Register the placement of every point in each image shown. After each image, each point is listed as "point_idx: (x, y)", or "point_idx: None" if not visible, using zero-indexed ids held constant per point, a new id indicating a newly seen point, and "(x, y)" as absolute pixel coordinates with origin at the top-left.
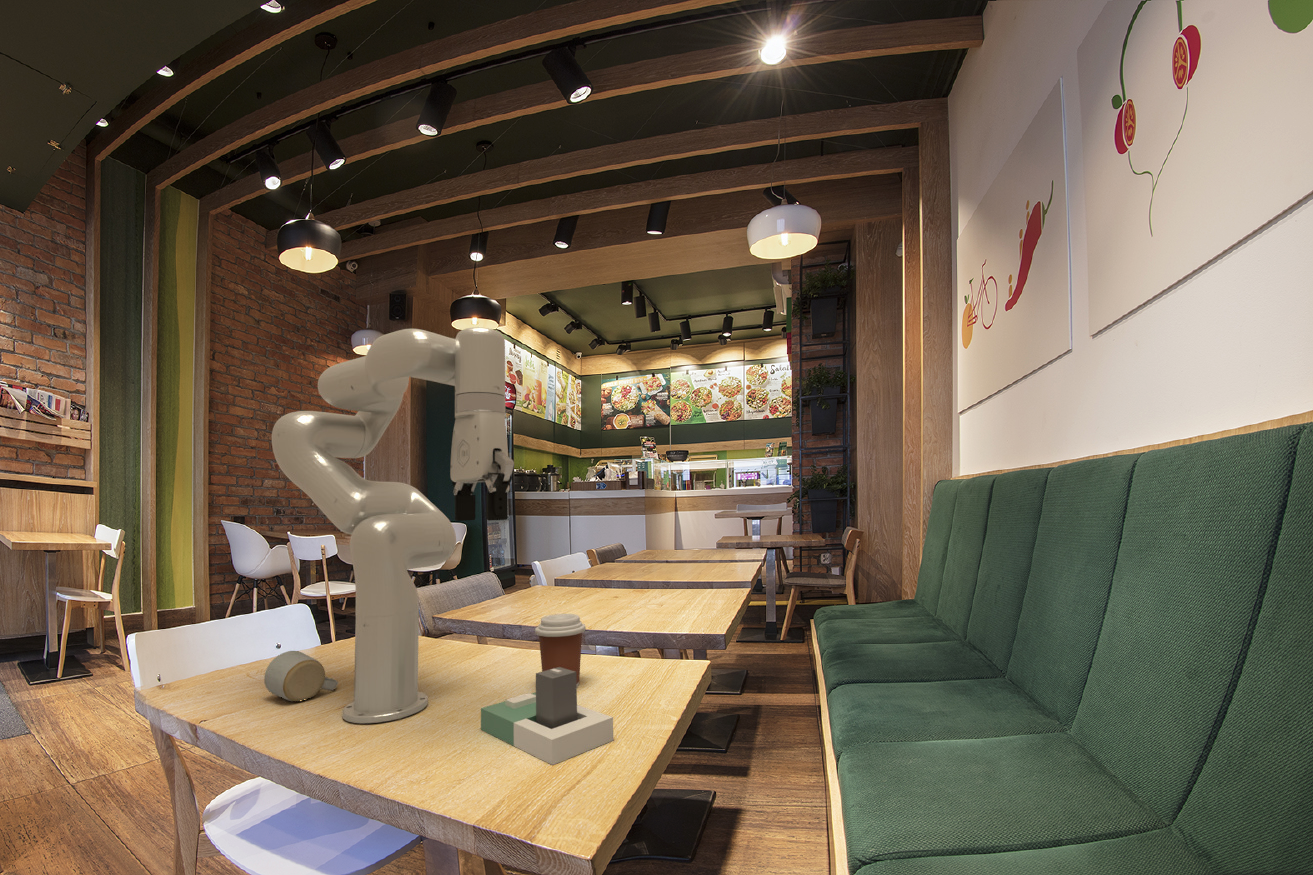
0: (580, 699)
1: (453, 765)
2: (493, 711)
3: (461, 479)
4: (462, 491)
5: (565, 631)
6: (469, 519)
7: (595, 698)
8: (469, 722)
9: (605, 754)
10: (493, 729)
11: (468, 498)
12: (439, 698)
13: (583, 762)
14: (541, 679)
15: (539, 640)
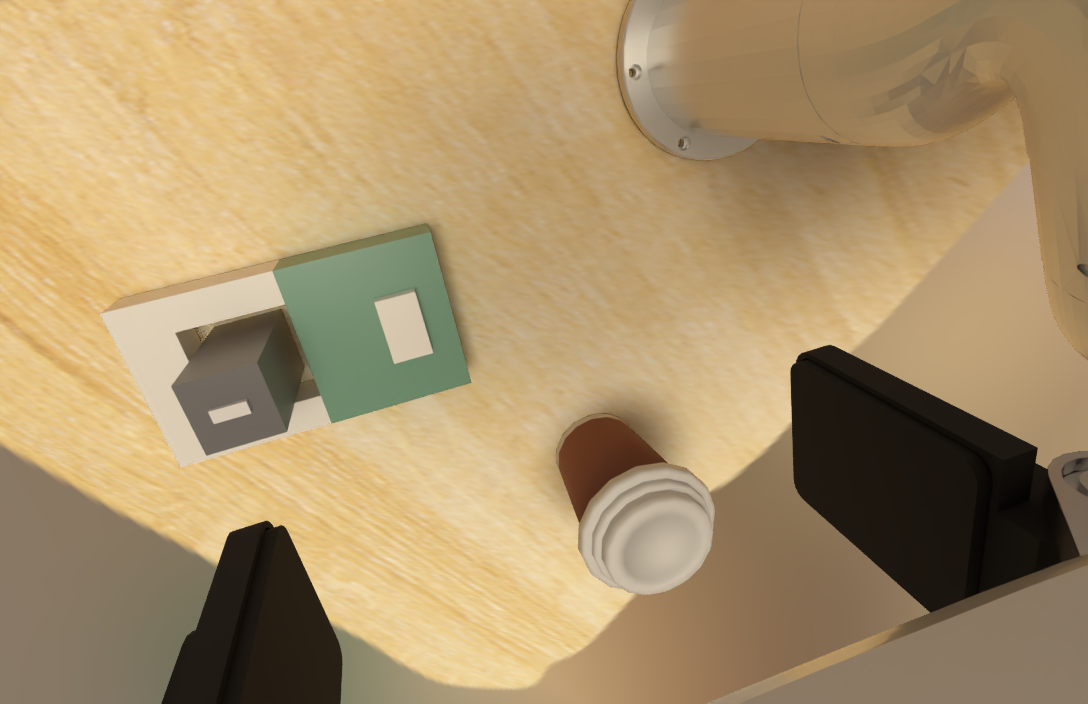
0: (481, 459)
1: (236, 112)
2: (385, 251)
3: (843, 659)
4: (1039, 553)
5: (584, 530)
6: (793, 449)
7: (466, 486)
8: (491, 213)
9: (124, 406)
10: (367, 240)
11: (936, 555)
12: (704, 192)
13: (103, 356)
14: (231, 366)
15: (651, 462)
